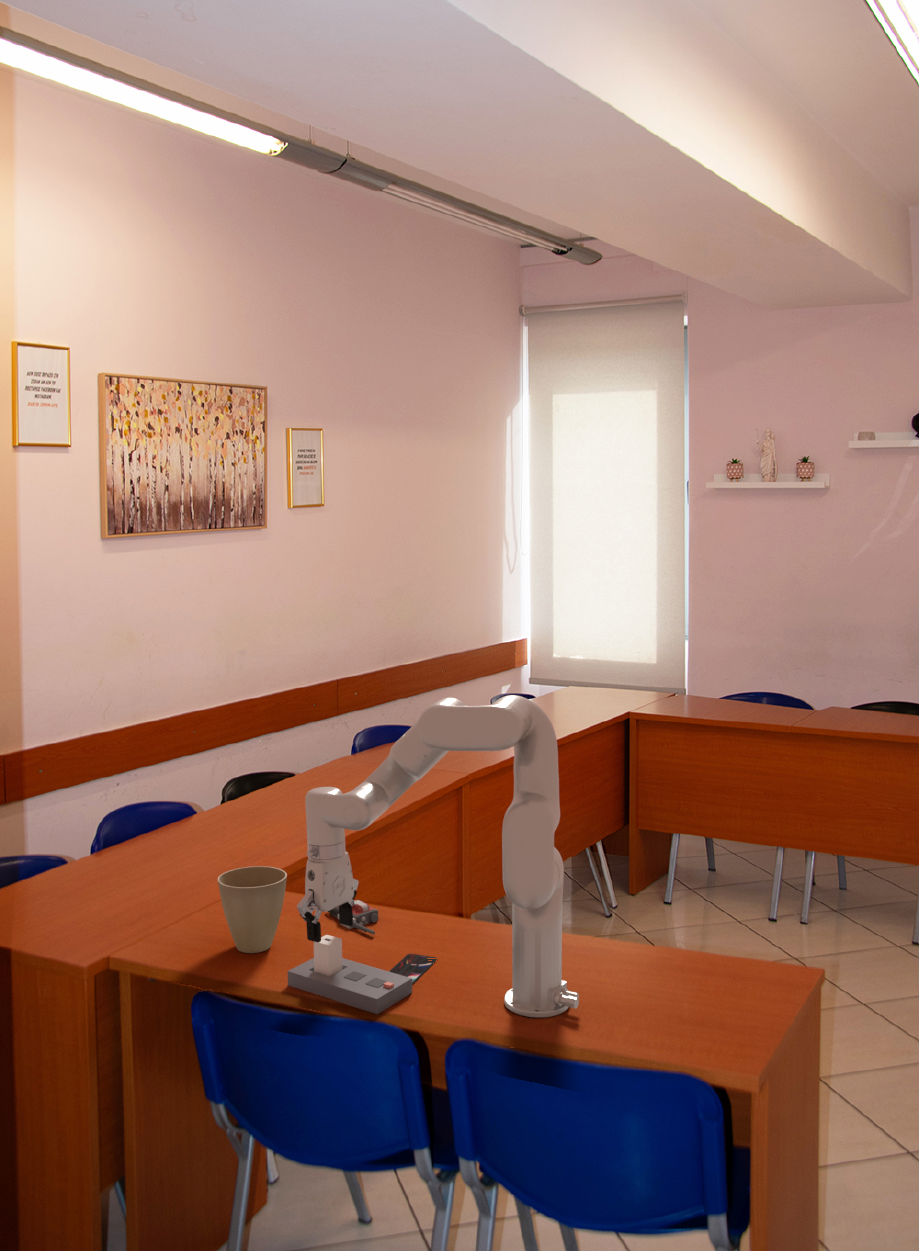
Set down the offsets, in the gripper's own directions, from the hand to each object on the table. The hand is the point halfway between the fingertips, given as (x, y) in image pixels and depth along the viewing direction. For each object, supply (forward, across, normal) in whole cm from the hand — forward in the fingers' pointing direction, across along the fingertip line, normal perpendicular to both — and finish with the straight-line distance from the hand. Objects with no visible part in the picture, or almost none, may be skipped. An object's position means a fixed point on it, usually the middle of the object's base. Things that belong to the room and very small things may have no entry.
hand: (330, 932), depth 211 cm
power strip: (+11, 0, -5) cm, 12 cm away
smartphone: (+12, +14, -9) cm, 20 cm away
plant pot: (+10, +5, +27) cm, 29 cm away
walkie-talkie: (+11, +29, +17) cm, 35 cm away
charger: (+10, 0, +1) cm, 11 cm away
